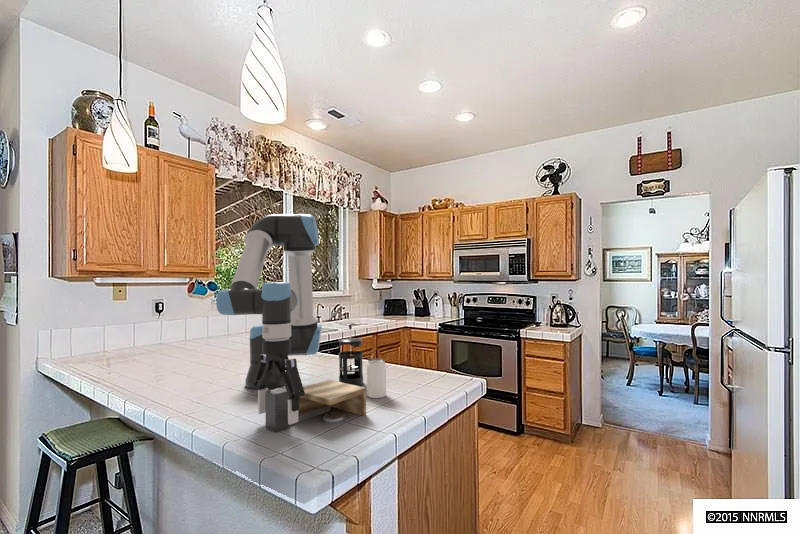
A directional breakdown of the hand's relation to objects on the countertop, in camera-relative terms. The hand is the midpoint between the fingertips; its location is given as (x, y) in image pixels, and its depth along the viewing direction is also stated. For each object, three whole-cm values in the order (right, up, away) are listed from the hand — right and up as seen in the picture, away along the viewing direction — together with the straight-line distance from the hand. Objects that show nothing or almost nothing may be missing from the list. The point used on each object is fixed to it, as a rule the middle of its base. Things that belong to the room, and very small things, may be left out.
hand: (277, 417), depth 109 cm
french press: (+15, -4, +42) cm, 45 cm away
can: (+25, -3, +28) cm, 38 cm away
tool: (+5, -3, +6) cm, 8 cm away
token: (+14, -3, +6) cm, 16 cm away
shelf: (+13, -3, +9) cm, 15 cm away
